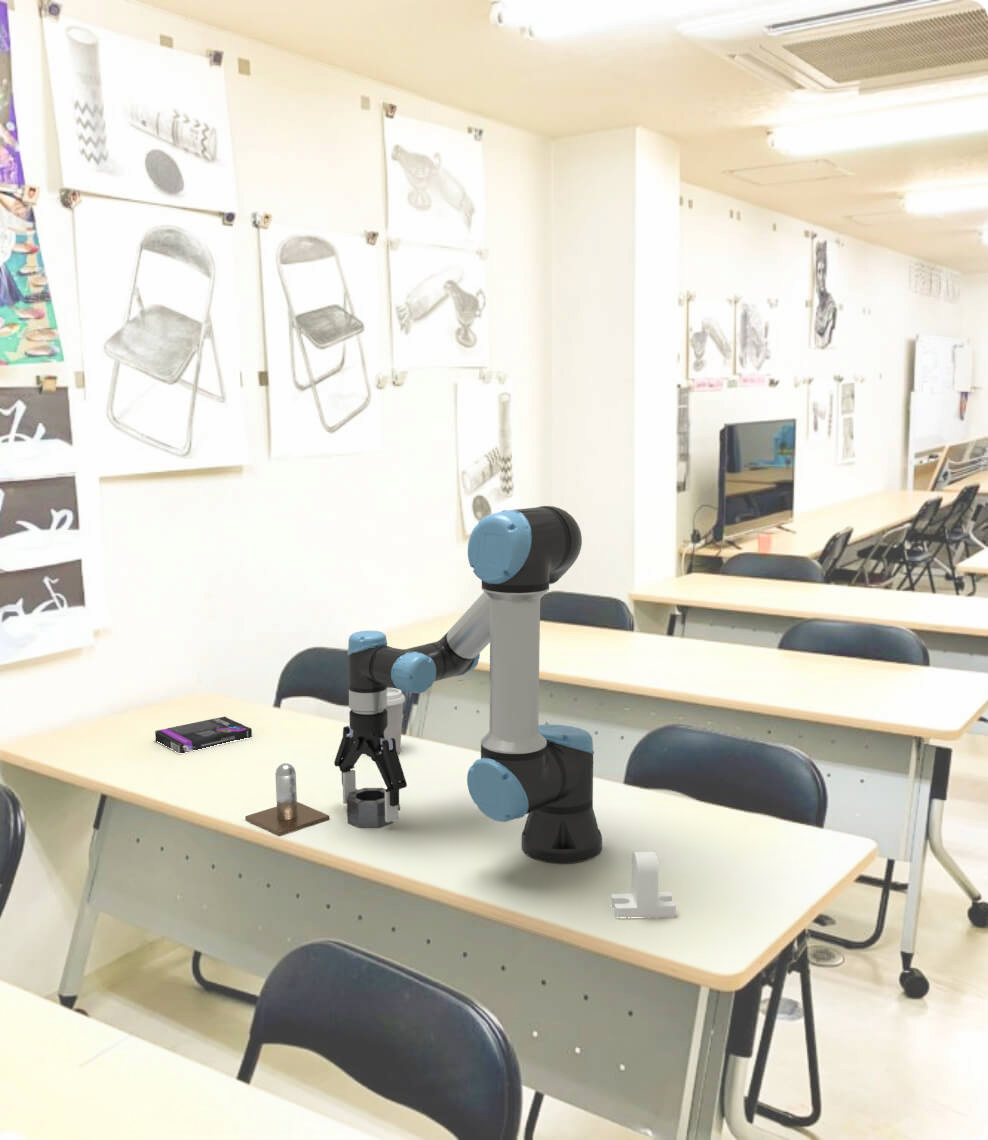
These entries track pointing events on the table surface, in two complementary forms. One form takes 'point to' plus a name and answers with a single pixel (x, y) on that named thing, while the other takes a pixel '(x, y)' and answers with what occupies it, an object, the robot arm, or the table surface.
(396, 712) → the coffee cup
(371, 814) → the ring
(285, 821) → the piston post
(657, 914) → the white bearing bracket
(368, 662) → the robot arm
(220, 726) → the box
